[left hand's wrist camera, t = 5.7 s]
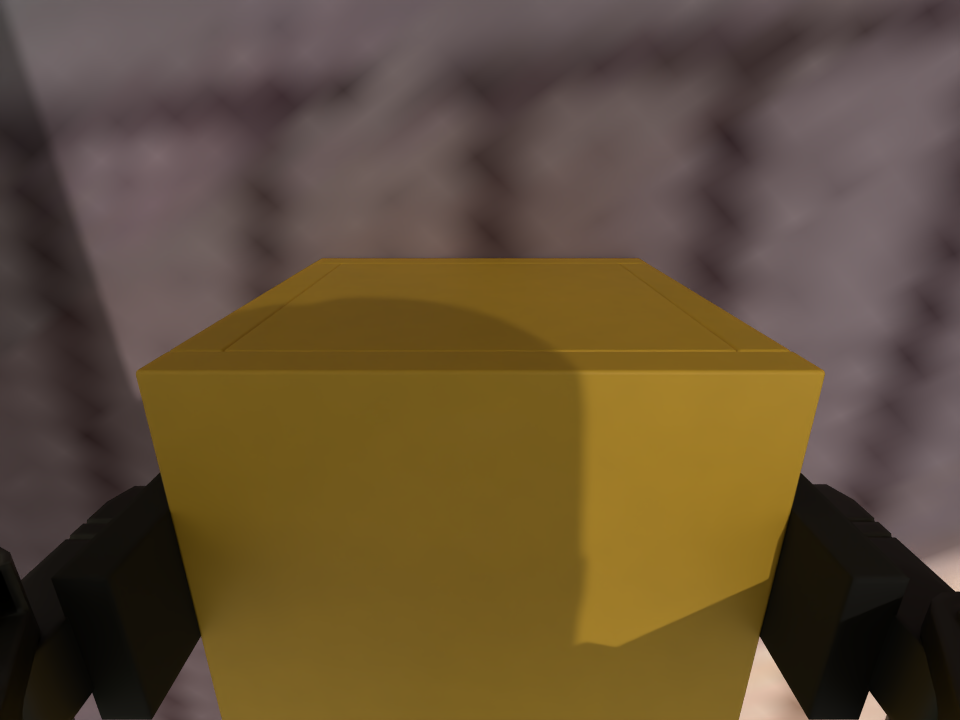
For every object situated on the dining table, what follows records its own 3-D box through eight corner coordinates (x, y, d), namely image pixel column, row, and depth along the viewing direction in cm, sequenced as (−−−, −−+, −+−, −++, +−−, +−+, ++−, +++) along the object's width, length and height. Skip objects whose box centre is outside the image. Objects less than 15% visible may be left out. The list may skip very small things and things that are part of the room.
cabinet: (596, 665, 22) (672, 991, 14) (363, 665, 23) (288, 991, 14) (640, 257, 16) (828, 370, 8) (320, 257, 16) (133, 371, 8)
